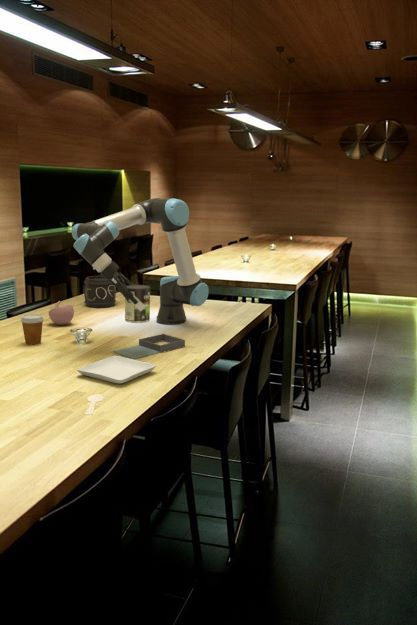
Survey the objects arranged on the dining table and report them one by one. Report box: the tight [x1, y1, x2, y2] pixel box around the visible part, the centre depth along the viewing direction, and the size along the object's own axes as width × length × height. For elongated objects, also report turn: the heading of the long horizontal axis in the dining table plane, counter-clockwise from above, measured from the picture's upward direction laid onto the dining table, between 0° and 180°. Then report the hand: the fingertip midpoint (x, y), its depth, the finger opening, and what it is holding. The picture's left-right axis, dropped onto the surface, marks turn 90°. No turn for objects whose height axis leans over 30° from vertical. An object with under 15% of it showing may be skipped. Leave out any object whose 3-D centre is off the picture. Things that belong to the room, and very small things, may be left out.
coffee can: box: [124, 284, 151, 324], centre depth 245 cm, size 10×10×14 cm
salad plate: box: [76, 355, 157, 384], centre depth 220 cm, size 21×21×3 cm
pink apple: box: [48, 300, 75, 326], centre depth 293 cm, size 12×12×11 cm
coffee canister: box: [83, 275, 118, 309], centre depth 339 cm, size 18×18×16 cm
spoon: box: [84, 393, 105, 416], centre depth 191 cm, size 5×18×1 cm, turn 2°
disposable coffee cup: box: [20, 313, 45, 346], centre depth 258 cm, size 10×10×12 cm
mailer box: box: [112, 333, 186, 360], centre depth 254 cm, size 28×14×3 cm, turn 136°
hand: (144, 306), depth 246 cm, fingers closed on coffee can, 10 cm apart
